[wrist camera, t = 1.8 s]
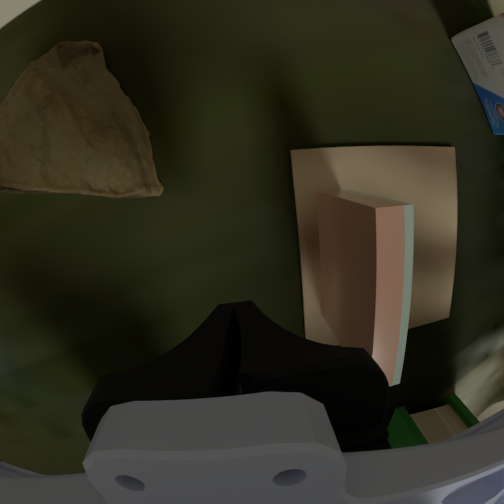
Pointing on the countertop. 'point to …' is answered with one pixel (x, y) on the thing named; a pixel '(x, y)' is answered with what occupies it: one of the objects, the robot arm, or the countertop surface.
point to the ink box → (486, 66)
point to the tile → (367, 273)
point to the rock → (74, 130)
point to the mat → (391, 187)
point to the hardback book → (429, 424)
